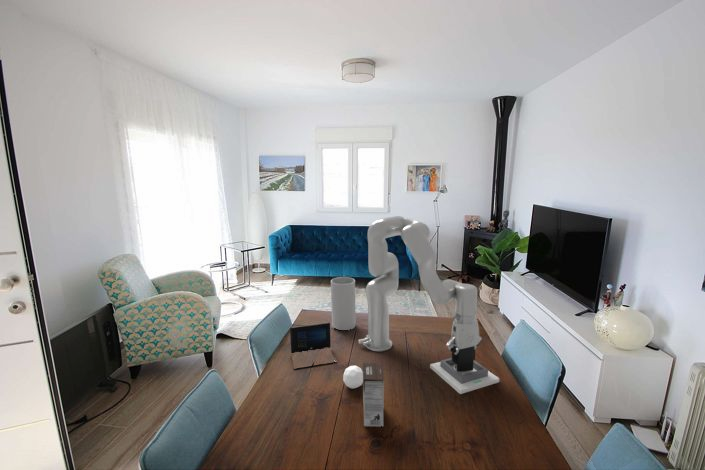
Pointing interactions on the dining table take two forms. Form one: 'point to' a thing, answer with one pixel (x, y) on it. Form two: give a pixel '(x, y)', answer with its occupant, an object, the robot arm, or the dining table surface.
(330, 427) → the dining table surface
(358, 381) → the geometric ball
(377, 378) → the coffee box
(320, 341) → the laptop
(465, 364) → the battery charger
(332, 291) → the cylinder vase
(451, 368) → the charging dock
